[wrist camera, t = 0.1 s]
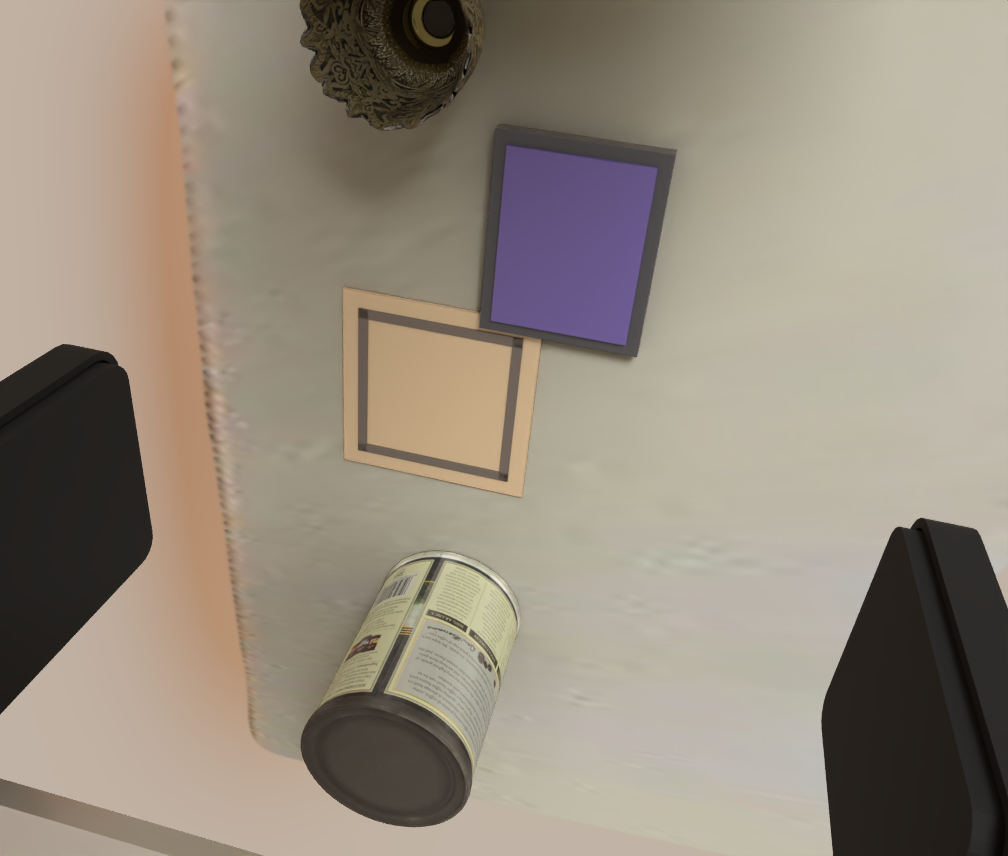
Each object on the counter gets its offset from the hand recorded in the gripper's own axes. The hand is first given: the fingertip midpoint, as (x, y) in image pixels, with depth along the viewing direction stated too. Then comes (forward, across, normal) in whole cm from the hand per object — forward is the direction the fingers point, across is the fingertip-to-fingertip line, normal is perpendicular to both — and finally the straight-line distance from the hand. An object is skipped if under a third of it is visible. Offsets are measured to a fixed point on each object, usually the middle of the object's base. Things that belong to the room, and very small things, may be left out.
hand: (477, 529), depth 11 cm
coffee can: (+37, +9, +37) cm, 53 cm away
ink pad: (+37, +4, +9) cm, 38 cm away
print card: (+37, +11, +20) cm, 43 cm away
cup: (+37, +12, -1) cm, 39 cm away
